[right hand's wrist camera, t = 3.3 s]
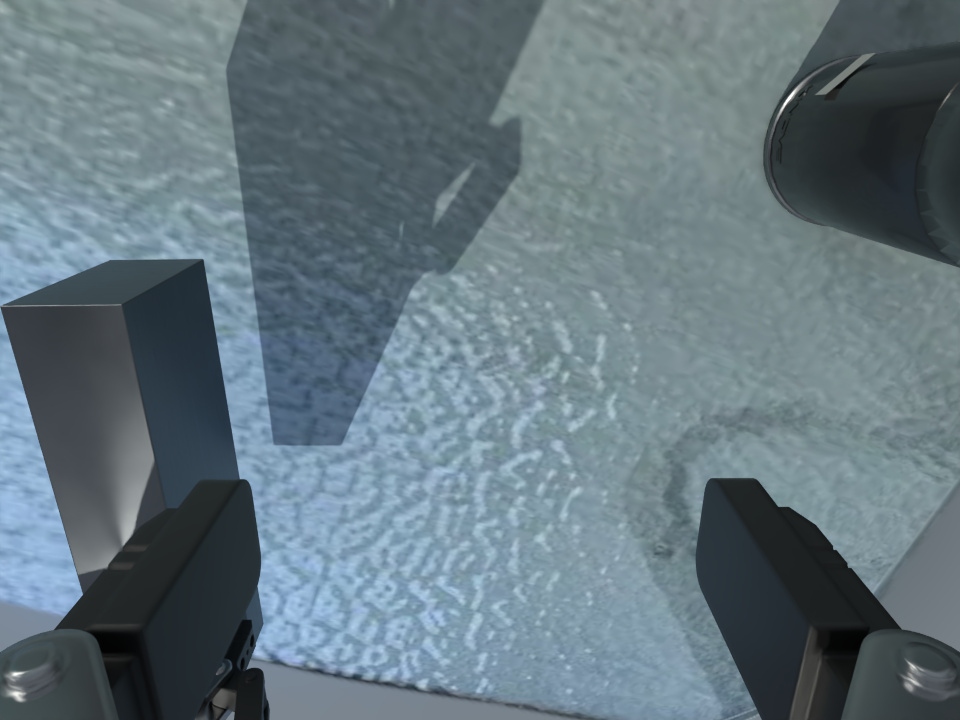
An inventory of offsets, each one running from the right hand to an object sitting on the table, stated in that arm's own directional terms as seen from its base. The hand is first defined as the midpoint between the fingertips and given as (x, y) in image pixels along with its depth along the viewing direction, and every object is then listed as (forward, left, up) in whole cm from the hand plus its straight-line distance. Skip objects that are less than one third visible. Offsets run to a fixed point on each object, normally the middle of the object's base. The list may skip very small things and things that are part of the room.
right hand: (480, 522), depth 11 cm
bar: (+13, +16, -23) cm, 31 cm away
